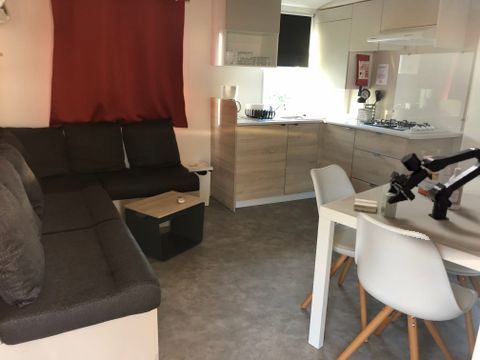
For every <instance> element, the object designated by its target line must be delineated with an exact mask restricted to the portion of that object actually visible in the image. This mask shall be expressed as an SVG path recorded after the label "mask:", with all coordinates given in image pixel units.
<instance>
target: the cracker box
mask: <svg viewBox="0 0 480 360" xmlns="http://www.w3.org/2000/svg"><path fill="white" fill-rule="evenodd" d="M428 157H434V156H433V155H424V156H423V158H422V160H423V159H426V158H428ZM452 165H453V164H451V165H448V166H447V167H446V168H444V169H442V170H440V171H438V172H432V171H430V170H428V169H426V168H425V167H423V166H421V167H422V168H423V169H426V170H427V171H428V172H429V173H432V174H433V175H432V180H430V179H428V178H426V179H424V180H423V181H422V182H421V183H419V184H418V187H417V188H418V189H417V193H419V194H422V195H424V196H428V197H429V190H430V189H431V188H432V186H435V185H436V184H437V183H439V182H440V183H442V184H446V183H448V182H449V180H450V179H451V171H452Z"/></svg>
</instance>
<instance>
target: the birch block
mask: <svg viewBox="0 0 480 360" xmlns="http://www.w3.org/2000/svg"><path fill="white" fill-rule="evenodd" d="M377 203H378V201H377V200H368V199H361V198H355V200H354V204H353V210H355V209H360V210H359V211H362V210H364V212H370V213H371V212H372V213H376V212H377V206H378V205H377Z"/></svg>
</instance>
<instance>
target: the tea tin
mask: <svg viewBox="0 0 480 360" xmlns="http://www.w3.org/2000/svg"><path fill="white" fill-rule="evenodd" d="M387 192H388V191H386V192H383V194H382V201H381V209H380V215H382V216H383V217H385V218H386V217H387V218H396V214H397V208H398V207H397V206H398V202H397V203H393V204H389V201H390V200H391V199H392V198H393V197H394V196H395V195H396V194H395V193H387Z"/></svg>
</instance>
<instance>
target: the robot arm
mask: <svg viewBox="0 0 480 360" xmlns="http://www.w3.org/2000/svg"><path fill="white" fill-rule="evenodd" d="M471 159H476V162H475V164H473V166H471V167H469V168H468V169H466V170H465V171H463V172H461V174H460V175H458V176H457V177H455V178H454V179H452V180H451V181H449V182H448V183H446V184H442V183H440V182H439V183H437V184H436V185H435V186H432V188H431V189H430V190H429V196H428V197H429V198H430V200H431V202H432V210H431V213H428V216H429V217H431V218H432V219H434V220H445V221H447V220H450V218H449V217H448V216H447V213H448V210H449V209H448V208H450V207H451V205H452V202H451V201H450V200H449V198H450V197H451V195H452V194H453V192H454V191H455V190H457V189H459V188H460V187H462V186H463V185H464V186H465V185H466V184H468V183H470V182H471V181H473V180H474V179H475V178H478V177H479V176H480V148H478V147H475V146H472V147H470V148H468V149H467V148H466V149H463V150H461V151H456V152H453V153H449V154H446V155H442V156H441V155H436V156H434V157H428V158H426V159H423V158H422V159H419V157H418V155H417V153H415V152H414V151H413V152H411V153H408V154H406V155H404V156H403V157H402V158H401V159H400V163H401V164H402V165H403V166H404V168H405V169H406V170H407V171H408V172H411V173H409V174H405V173H403V172H397V171H396V170H393V171H392V173H391V175H390V176H389V177H390V178H391V179H389V189H388V190H387V191H386V192H387V193H395V194H396V195H395V196H394V197H393V198H392V199H391V200H390V201H389V204H393V203H397V204H398V203H400V202H404V201H405V202H406V201H411V202H412V201H414V200H415V199H416V195H415V194H414V193H413V191H412V190H413V189H415V187H416V188H419V183H421V182H422V181H423V180H424V179H426V178H428V179H430V180H432V175H433V174H432V173H429V172H428V171H427V170H426V169H428V170H430V171H432V172H438V171H440V170H442V169H444V168H446V167H447V166H448V165H451V164H452V165H455V164H457V163H461V162H464V161H468V160H471ZM422 166H423V167H425V168H426V169H423V168H422Z"/></svg>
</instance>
